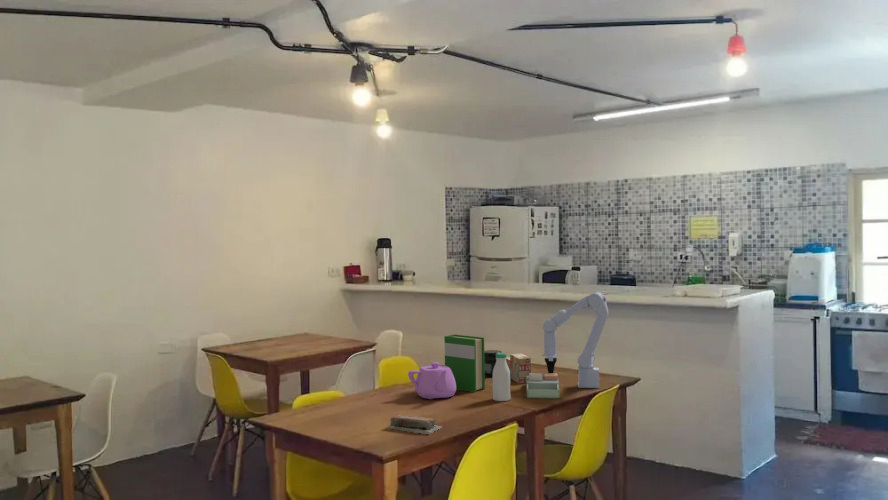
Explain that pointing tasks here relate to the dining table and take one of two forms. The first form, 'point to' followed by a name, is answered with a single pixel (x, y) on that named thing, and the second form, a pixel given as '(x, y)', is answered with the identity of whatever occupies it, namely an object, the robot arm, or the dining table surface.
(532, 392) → the tray
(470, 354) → the hardback book
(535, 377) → the cream tile
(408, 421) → the packaged product
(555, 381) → the board
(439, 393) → the teapot
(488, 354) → the supplement container
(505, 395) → the milk bottle
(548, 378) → the terracotta tile
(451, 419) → the dining table surface
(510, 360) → the printed cardboard box
